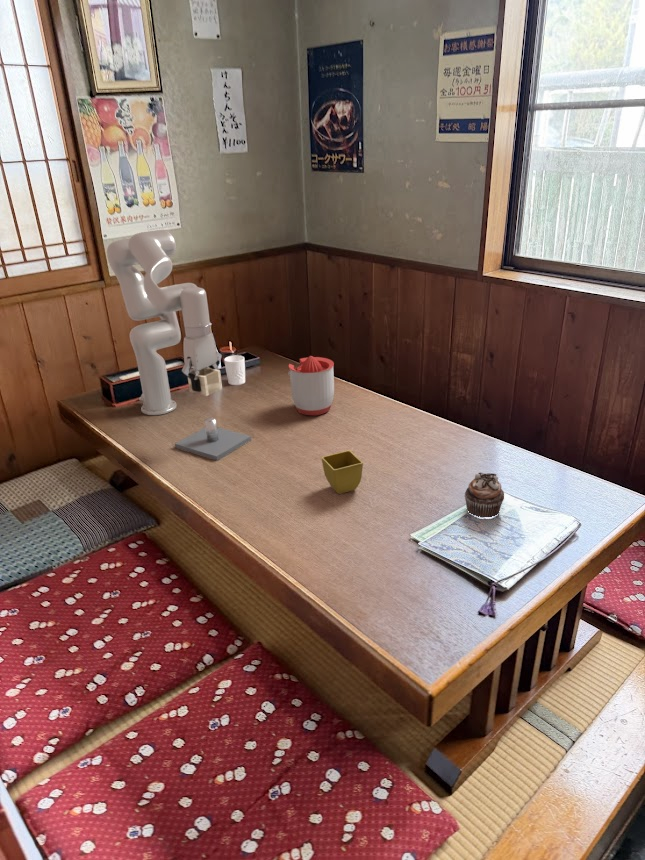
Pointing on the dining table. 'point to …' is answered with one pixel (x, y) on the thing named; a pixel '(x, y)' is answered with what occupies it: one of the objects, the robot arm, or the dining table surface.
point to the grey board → (213, 443)
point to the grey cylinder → (211, 429)
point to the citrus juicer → (312, 385)
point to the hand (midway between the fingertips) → (205, 386)
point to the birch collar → (207, 381)
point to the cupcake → (484, 495)
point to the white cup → (235, 369)
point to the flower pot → (343, 471)
